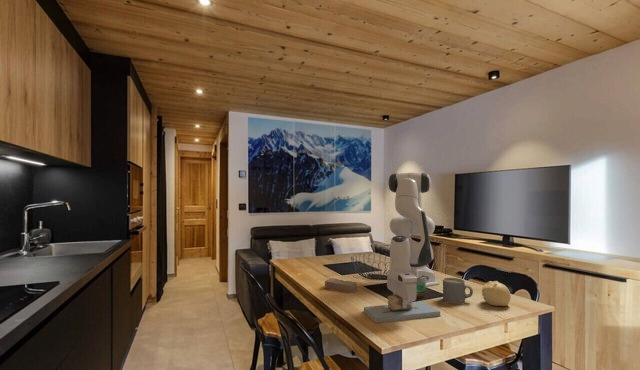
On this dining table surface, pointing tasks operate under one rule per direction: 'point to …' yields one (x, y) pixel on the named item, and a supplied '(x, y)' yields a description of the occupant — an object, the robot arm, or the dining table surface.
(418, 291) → the food container
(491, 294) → the pale yellow rounded lump
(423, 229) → the robot arm
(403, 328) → the dining table surface
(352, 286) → the brick
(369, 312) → the board
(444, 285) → the coffee mug
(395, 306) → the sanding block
